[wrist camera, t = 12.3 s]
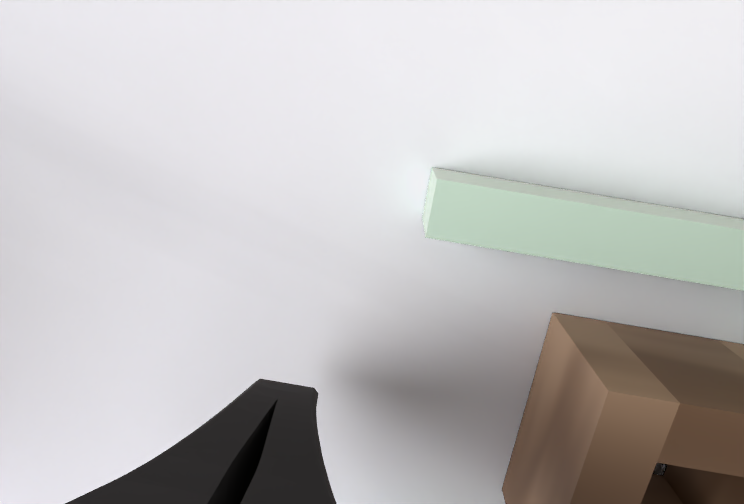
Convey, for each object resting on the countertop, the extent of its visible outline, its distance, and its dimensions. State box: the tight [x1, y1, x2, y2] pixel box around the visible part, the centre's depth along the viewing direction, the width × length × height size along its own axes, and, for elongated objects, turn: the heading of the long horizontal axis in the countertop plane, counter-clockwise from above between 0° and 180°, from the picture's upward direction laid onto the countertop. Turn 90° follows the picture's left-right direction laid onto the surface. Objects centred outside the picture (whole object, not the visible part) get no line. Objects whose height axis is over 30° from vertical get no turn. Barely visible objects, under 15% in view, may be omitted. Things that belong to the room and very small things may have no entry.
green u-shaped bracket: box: [422, 167, 744, 291], centre depth 12 cm, size 11×10×2 cm
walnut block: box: [502, 313, 744, 504], centre depth 11 cm, size 5×5×4 cm
